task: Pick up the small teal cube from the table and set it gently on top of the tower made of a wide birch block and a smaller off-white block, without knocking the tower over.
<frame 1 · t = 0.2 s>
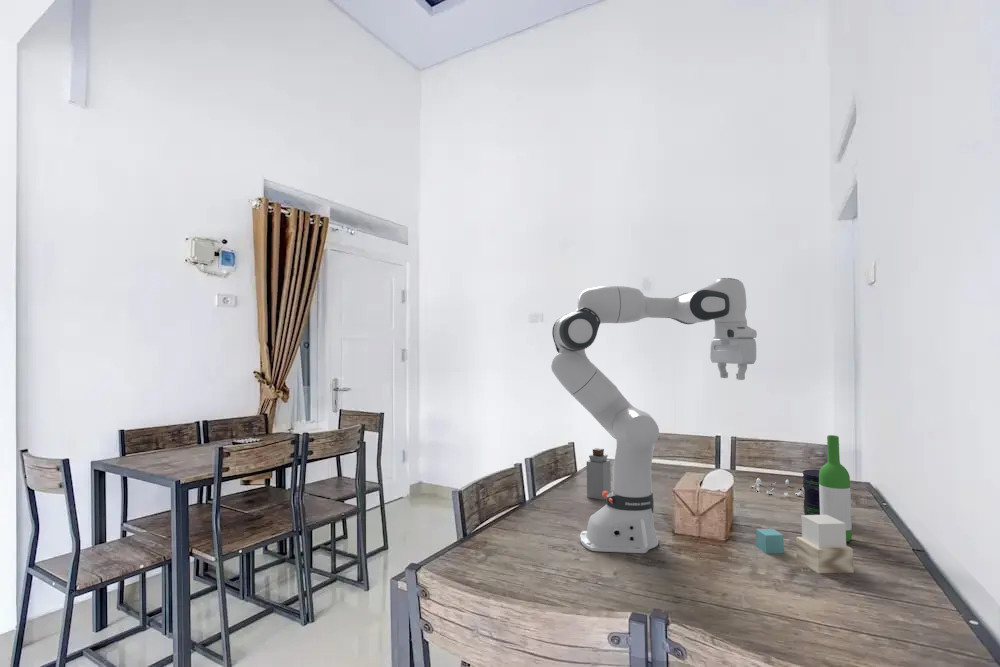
hand: (732, 378, 155), 47 cm above the table, tool pointing down, fingers open, 8 cm apart
perfume bottle: (599, 496, 199), on the table
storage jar: (821, 519, 170), on the table
game piece set: (779, 492, 204), on the table
teal cube: (769, 550, 145), on the table
wine bottle: (836, 539, 153), on the table
birch base block: (824, 566, 134), on the table, touching white middle block
white middle block: (823, 542, 134), point 6 cm above the table, touching birch base block
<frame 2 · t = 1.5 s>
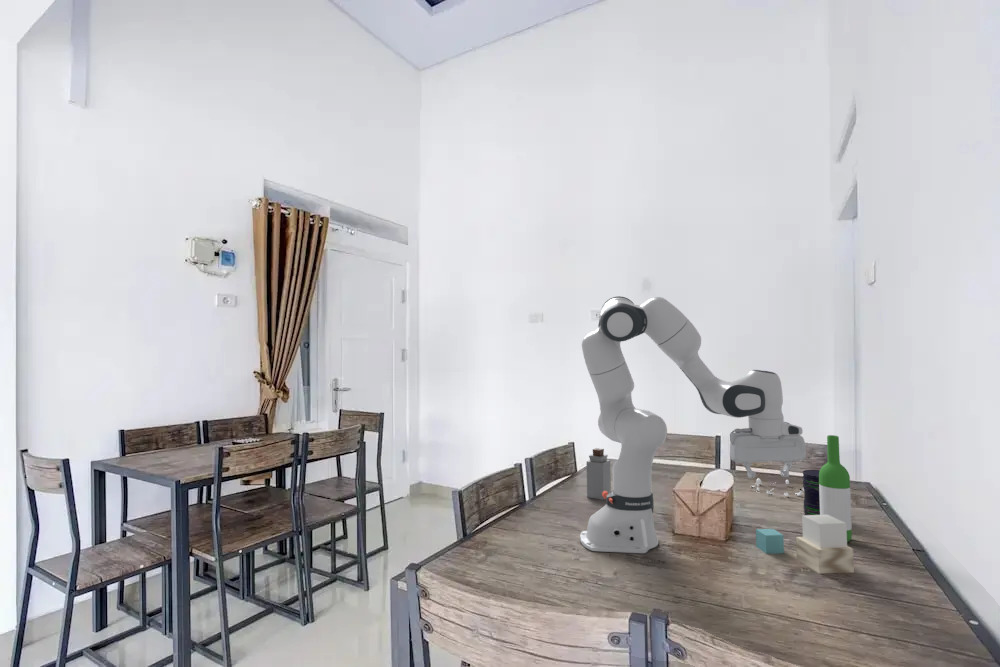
hand: (768, 477, 146), 20 cm above the table, tool pointing down, fingers open, 8 cm apart
nothing on the table moved.
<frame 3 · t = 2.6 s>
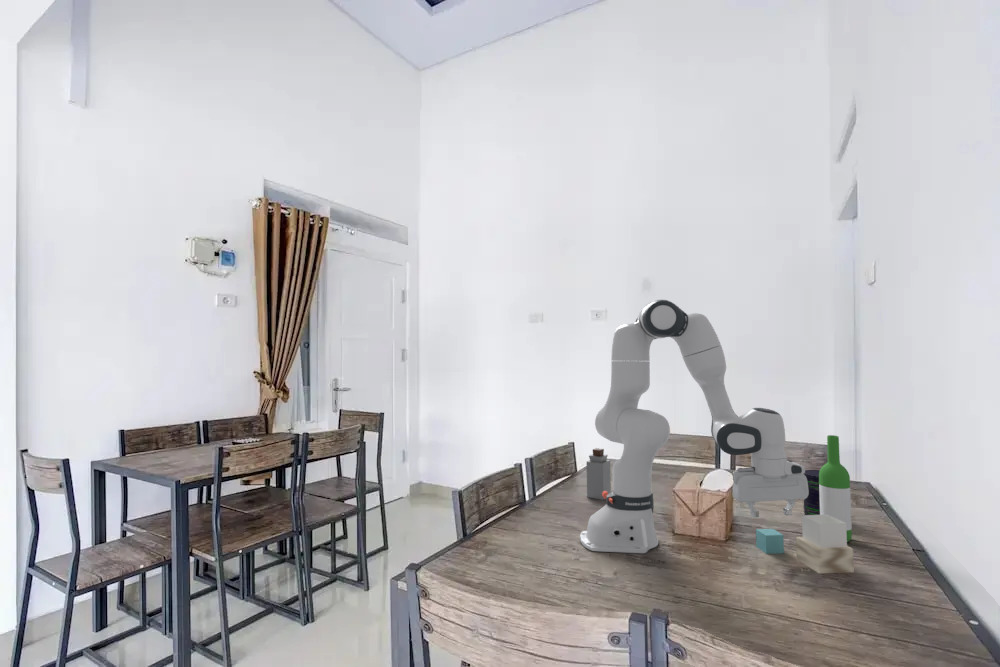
hand: (771, 515, 145), 9 cm above the table, tool pointing down, fingers open, 8 cm apart
nothing on the table moved.
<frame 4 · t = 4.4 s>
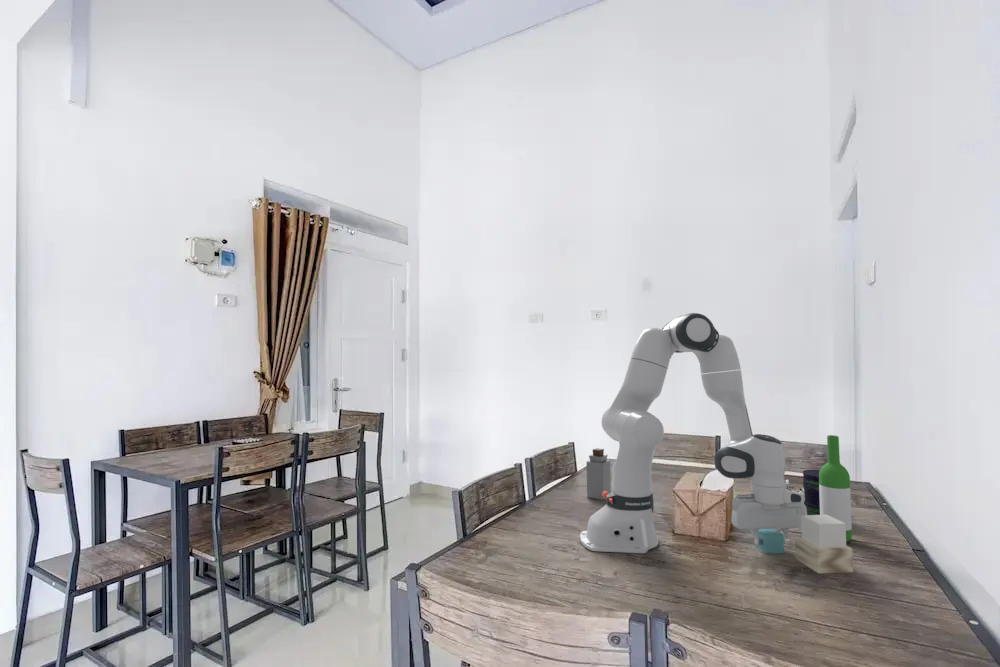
hand: (769, 543, 145), 2 cm above the table, tool pointing down, fingers closed on teal cube, 5 cm apart
teal cube: (769, 549, 145), on the table, touching gripper
birch base block: (823, 566, 134), on the table
white middle block: (823, 542, 134), point 6 cm above the table
everything else where it was.
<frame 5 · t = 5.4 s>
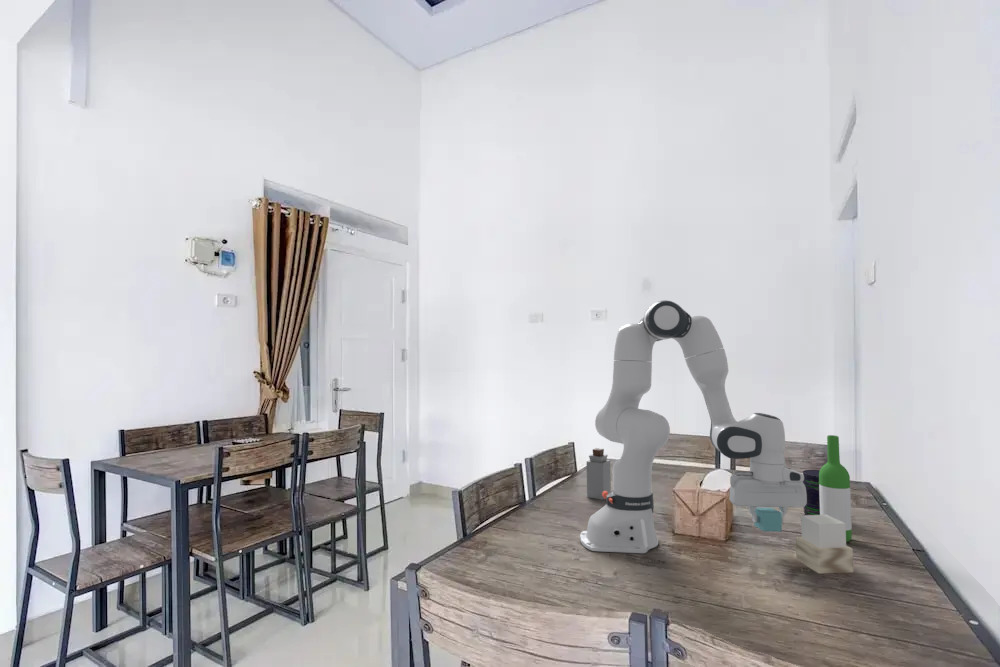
hand: (767, 522, 144), 8 cm above the table, tool pointing down, fingers closed on teal cube, 5 cm apart
teal cube: (767, 528, 144), point 6 cm above the table, touching gripper
birch base block: (823, 566, 134), on the table, touching white middle block
white middle block: (823, 542, 134), point 6 cm above the table, touching birch base block
everything else where it was.
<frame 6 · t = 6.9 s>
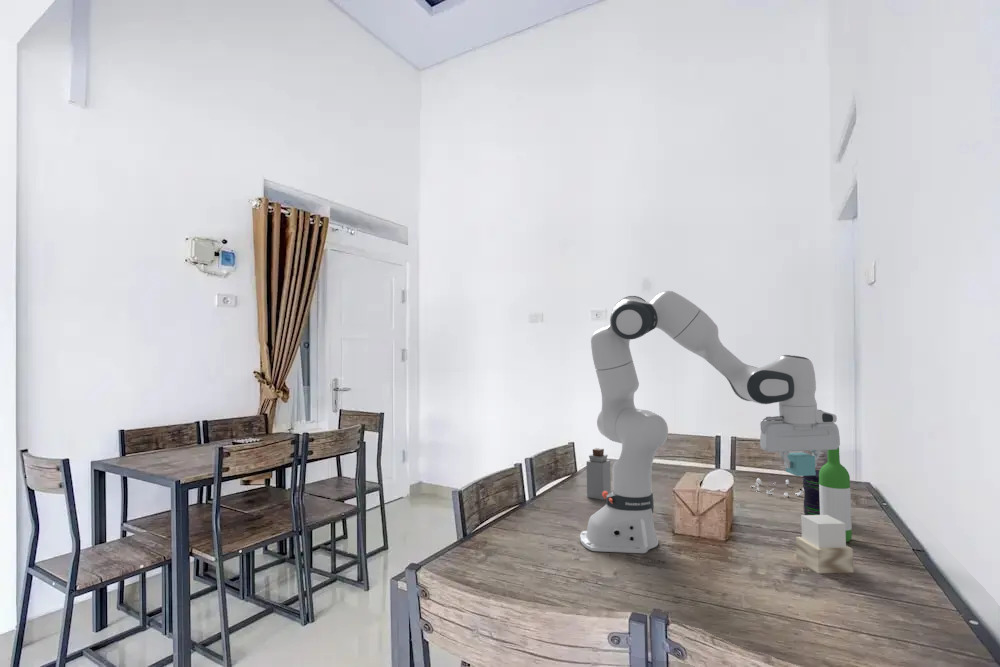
hand: (800, 467, 139), 24 cm above the table, tool pointing down, fingers closed on teal cube, 5 cm apart
teal cube: (800, 473, 139), point 23 cm above the table, touching gripper
everything else where it was.
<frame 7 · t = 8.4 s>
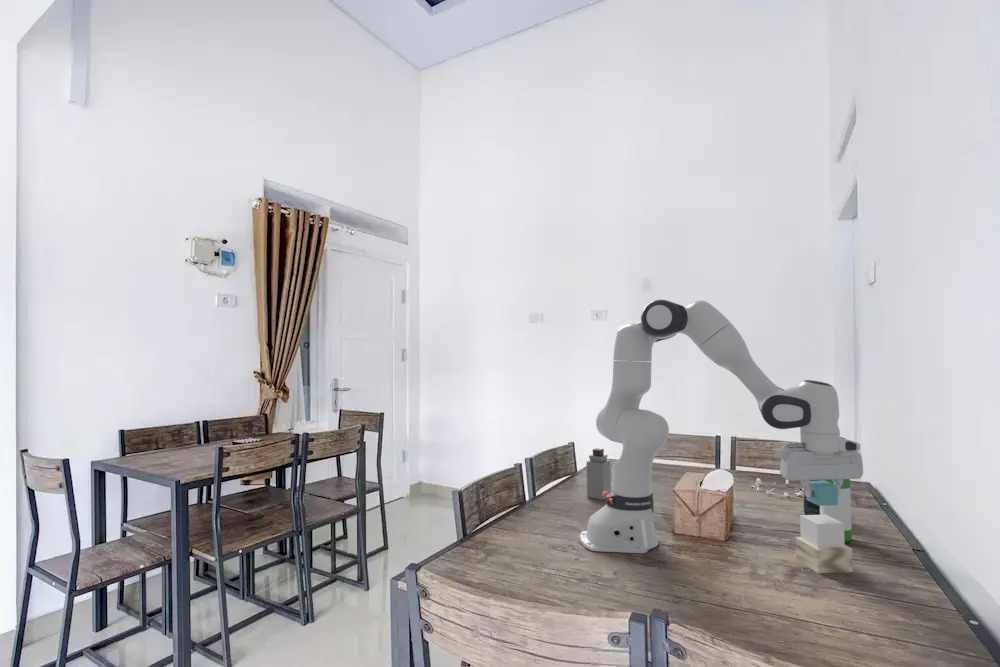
hand: (821, 496, 135), 18 cm above the table, tool pointing down, fingers closed on teal cube, 5 cm apart
teal cube: (821, 502, 135), point 16 cm above the table, touching gripper
everything else where it was.
when the fingers open (15 cm above the table, at t = 9.3 s): teal cube drops 2 cm, resting on white middle block.
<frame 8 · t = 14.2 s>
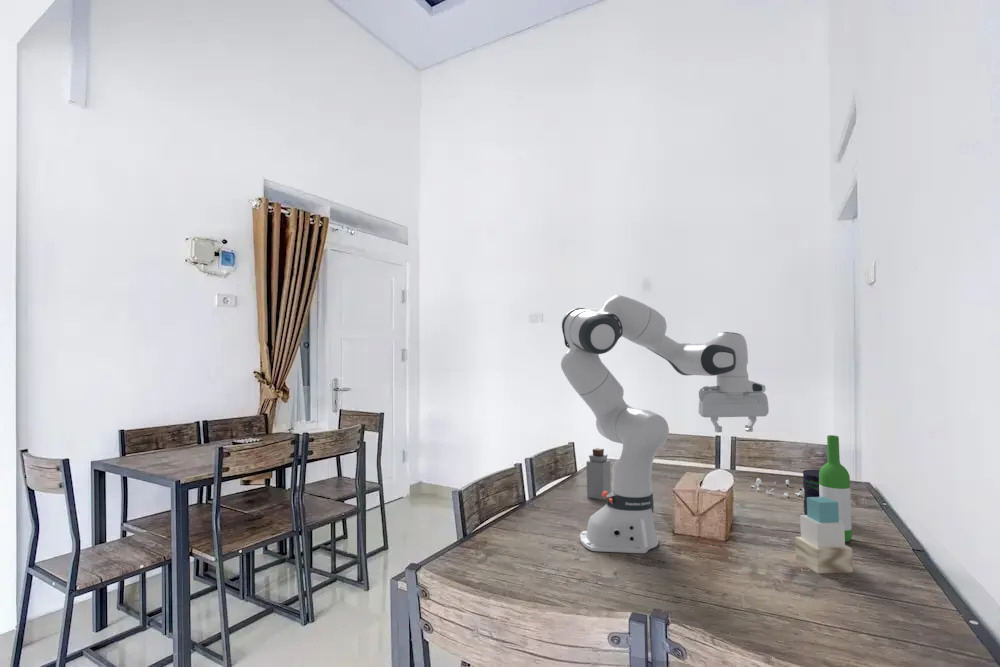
hand: (733, 431, 157), 31 cm above the table, tool pointing down, fingers open, 8 cm apart
teal cube: (822, 519, 134), point 12 cm above the table, touching white middle block
white middle block: (822, 542, 134), point 6 cm above the table, touching birch base block, teal cube
everything else where it was.
at the end: teal cube 0.3 cm off-centre on the white middle block, point 6.0 cm above the white middle block's base; white middle block 0.1 cm off-centre on the birch base block, point 6.0 cm above the birch base block's base; the gripper is holding nothing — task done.
